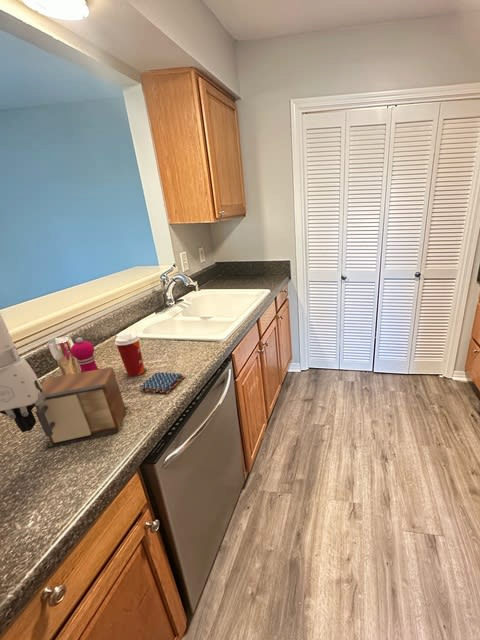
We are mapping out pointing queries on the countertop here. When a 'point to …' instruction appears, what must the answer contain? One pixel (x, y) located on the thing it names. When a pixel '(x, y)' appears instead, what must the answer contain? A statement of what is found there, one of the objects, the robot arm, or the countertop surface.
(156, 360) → the countertop surface
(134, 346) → the paper cup
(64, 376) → the cabinet
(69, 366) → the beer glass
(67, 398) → the sliding door
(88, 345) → the pepper mill
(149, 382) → the woven mat
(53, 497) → the countertop surface
